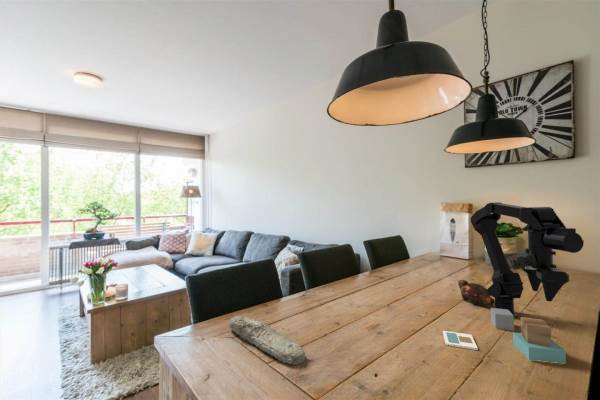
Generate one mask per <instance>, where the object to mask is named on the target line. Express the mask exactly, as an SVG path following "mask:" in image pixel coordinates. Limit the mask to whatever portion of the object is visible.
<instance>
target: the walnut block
mask: <svg viewBox="0 0 600 400" xmlns="http://www.w3.org/2000/svg"><path fill="white" fill-rule="evenodd" d="M520 333H521V335H522V336H523V337H524V339H525V340H526V341H527V343H532V344H538V345H545V346H551V340H552V328H551V326H550V325H549V324H547V322H545V321H544V319H539V318H531V317H525V316H524V317H523V316H521V317H520Z"/></svg>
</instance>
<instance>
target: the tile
mask: <svg viewBox="0 0 600 400" xmlns="http://www.w3.org/2000/svg"><path fill="white" fill-rule="evenodd" d="M442 335H443V339H444V342H445V346H448V345H449V347H454V346H455V347H456V348H460V347H461V349H468V350H474V351H478V350H479V349H478V346H477V344H476V341H475V340H474V337H473V334H470V333H462V332H455V331H448V330H442ZM455 347H454V348H455Z"/></svg>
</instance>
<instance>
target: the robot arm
mask: <svg viewBox="0 0 600 400" xmlns="http://www.w3.org/2000/svg"><path fill="white" fill-rule="evenodd" d="M502 216H506V217H511V218H515V219H518V220H519V221H520V222H521V223H523V224H526V225H525V226H523V228H521V230H522V231H523V232H524V231H525V232H527V244H528V245H527V247H526V248H525V249H524V252H523V253H518V254H514V255H509V256H505V252H504V251H503V248H502V245H501V242H500V240H499V237H498V234H497V229H498V226H499V224H498V222H499V220H500V219H501V218H502ZM470 223H471V225H472V227H473V229H474V231H475V232H477V233H478V234H479V235H480V236H481V238H482V242H483V244H484V247H485V249H486V252H487V255H488V258H489V261H490V264H491V266H492V269H493V273H492V276H491V281H492V284H491V285H490V286H489V287H488V288H486V289H487V290H488V294H489V295H490V297H492V298H493V299H494V306H493V307H491V308H497V309H507V310H509V311H510V312H511V313H512V314H513V316H514V318H519V316H518V314H517V313H516V312H515V299H521V297H522V294H523V292H524V286H523V285H524V282H523V281H522V278H521V276H520V274H519V272H514V271H513V270H521V271H523V272H524V273H526V276H527V278H528V281H529V283H530V287H531V290H532V291H533V292H538V291H539V288H540V285H541V283H542V288H543V293H544V297H545V301H546V302H550V303H551V302H552V301H554V298H555V297H556V295H557V294H558V293H559V291H560V290H561V289H562V287H564V285H566V284H567V283H570V275H569V274H568V273H567V272H566V271H564V270H561V269H559V268H557V264H554V256H556V254H557V251H561V252H567V253H573V254H575V253H578V252H580V251H581V250H583V247H584V245H585V243H584V242H585V241H584V240H583V238H582V236H581V235H580V234H579V233H577V232H576V231H577V229H576V228H575V227H567V226H566V225H565V224H564V222H563V221H562V220H561V219H560V217H559V216H558V215H557V213H556V212H555V209H554V208H553V207H550V206H532V207H531V206H530V207H525V206H520V205H514V204H507V203H503V202H501V201H500V202H499V201H498V202H488V203H486V204H485V206H483V207H481V208H480V209H478V210H476V211H475V212H474V213H473V214H472V215H471V217H470ZM555 250H557V251H555ZM511 268H512V270H511Z"/></svg>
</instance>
